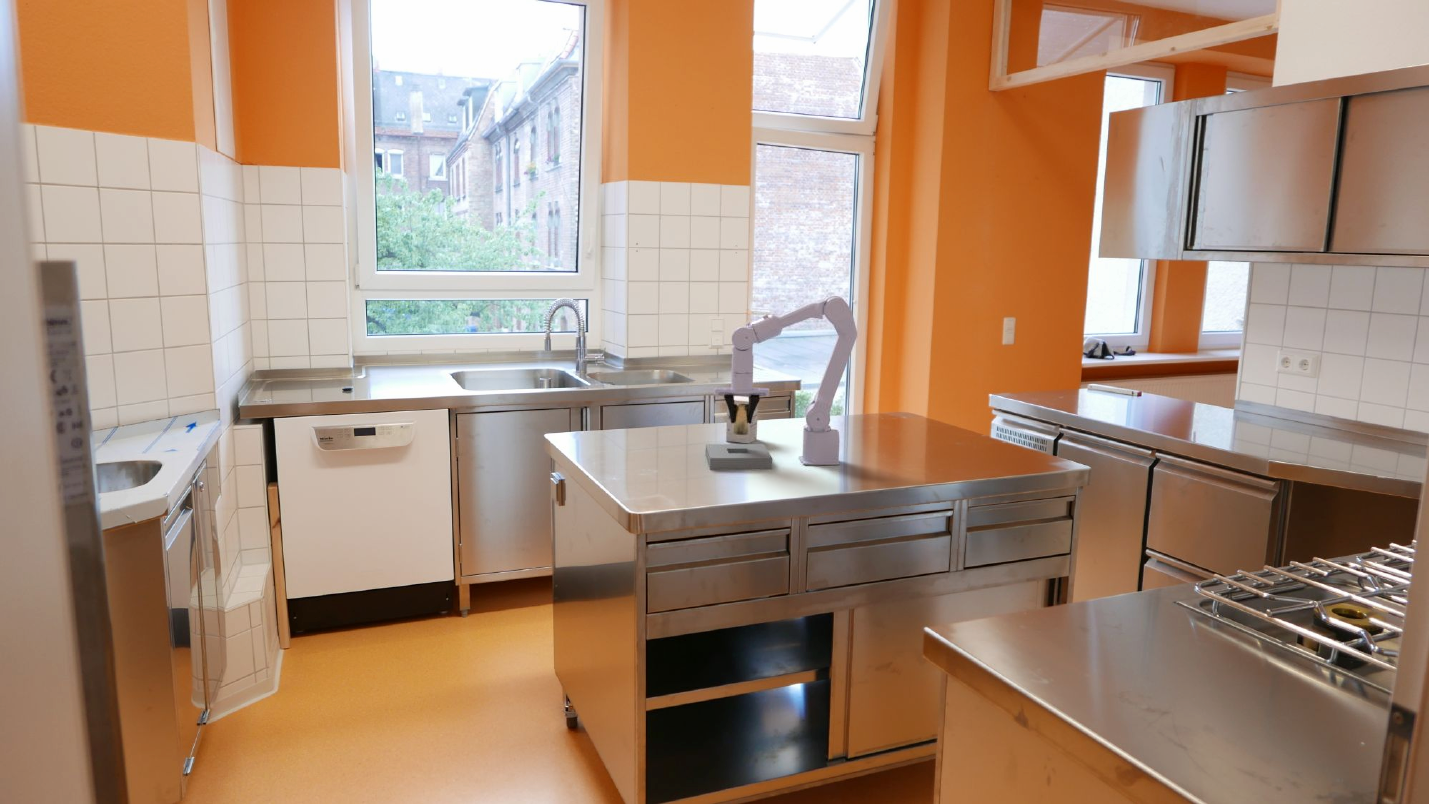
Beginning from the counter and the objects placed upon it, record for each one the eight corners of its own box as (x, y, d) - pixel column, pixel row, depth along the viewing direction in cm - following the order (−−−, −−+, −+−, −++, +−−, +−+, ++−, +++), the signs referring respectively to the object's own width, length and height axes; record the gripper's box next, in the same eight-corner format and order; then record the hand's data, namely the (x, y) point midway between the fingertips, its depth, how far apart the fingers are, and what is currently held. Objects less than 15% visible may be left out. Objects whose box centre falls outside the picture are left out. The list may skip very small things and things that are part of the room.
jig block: (763, 454, 249) (763, 444, 249) (772, 469, 233) (772, 458, 233) (705, 454, 248) (705, 444, 247) (710, 469, 232) (710, 458, 231)
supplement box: (725, 441, 264) (726, 399, 262) (734, 436, 271) (735, 395, 269) (749, 444, 262) (750, 401, 259) (757, 439, 268) (758, 397, 266)
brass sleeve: (747, 432, 245) (748, 402, 244) (748, 435, 241) (749, 405, 240) (732, 431, 245) (733, 402, 243) (733, 434, 241) (734, 405, 240)
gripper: (767, 370, 244) (766, 419, 247) (713, 369, 243) (712, 419, 246) (771, 374, 237) (769, 425, 240) (715, 373, 236) (714, 424, 239)
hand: (741, 422), depth 242 cm, fingers closed on brass sleeve, 4 cm apart
